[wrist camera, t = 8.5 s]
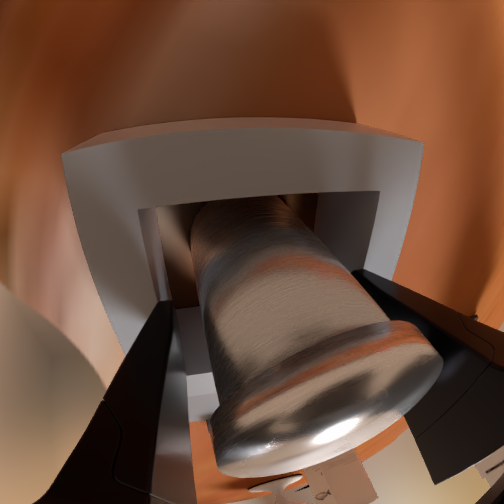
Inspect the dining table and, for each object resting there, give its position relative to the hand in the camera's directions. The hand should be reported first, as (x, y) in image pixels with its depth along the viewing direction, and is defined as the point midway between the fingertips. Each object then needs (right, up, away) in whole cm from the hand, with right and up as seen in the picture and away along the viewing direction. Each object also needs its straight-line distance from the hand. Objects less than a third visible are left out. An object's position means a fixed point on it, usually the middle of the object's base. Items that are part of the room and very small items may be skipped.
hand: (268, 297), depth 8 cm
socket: (-1, +1, +3) cm, 4 cm away
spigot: (-1, +2, +3) cm, 3 cm away
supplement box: (+12, -34, +29) cm, 46 cm away
